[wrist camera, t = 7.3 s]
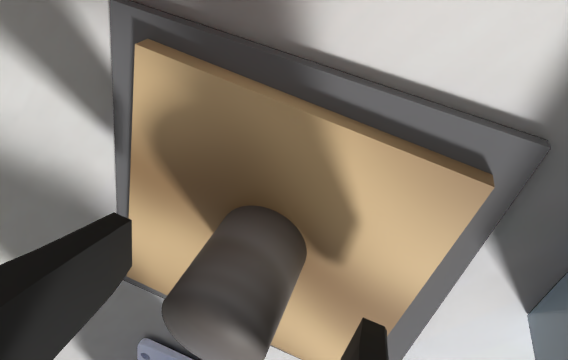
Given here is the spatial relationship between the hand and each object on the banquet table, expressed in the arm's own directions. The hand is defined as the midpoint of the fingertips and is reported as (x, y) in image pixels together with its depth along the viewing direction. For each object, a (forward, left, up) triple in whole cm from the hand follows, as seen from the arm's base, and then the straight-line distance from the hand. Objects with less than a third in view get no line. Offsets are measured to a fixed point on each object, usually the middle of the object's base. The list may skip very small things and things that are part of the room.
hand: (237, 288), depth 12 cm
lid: (0, 0, -3) cm, 3 cm away
